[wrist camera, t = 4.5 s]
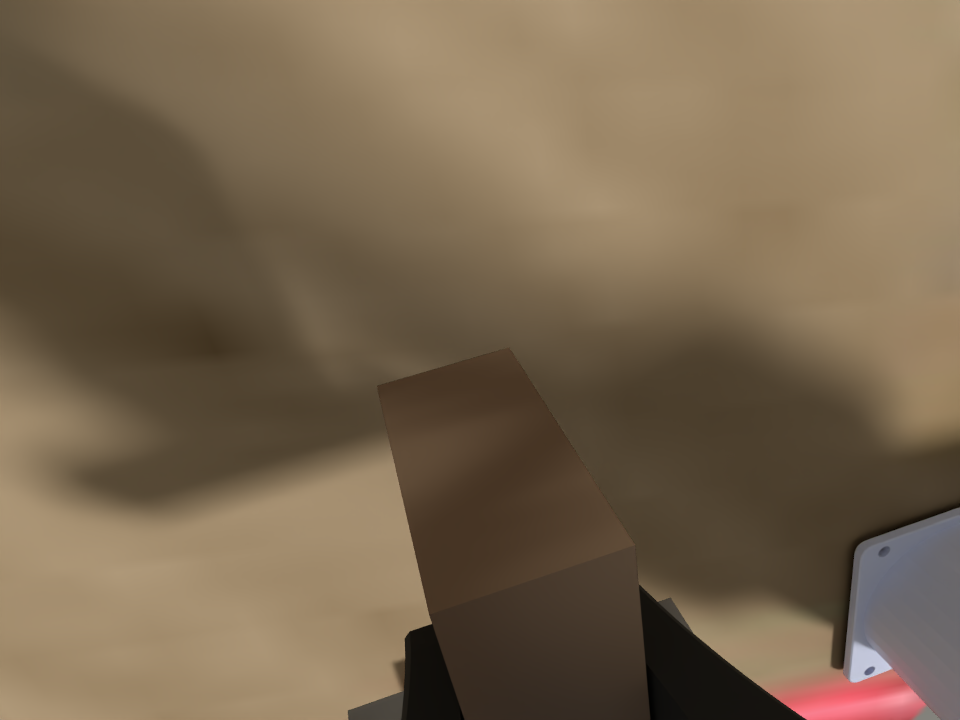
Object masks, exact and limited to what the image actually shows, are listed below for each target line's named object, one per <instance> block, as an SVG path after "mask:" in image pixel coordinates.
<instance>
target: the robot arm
mask: <svg viewBox="0 0 960 720" xmlns="http://www.w3.org/2000/svg"><path fill="white" fill-rule="evenodd" d="M639 594H640V605H641V617H642V628H643V640H644V651H645V663H646V674H647V686H648V697H649V709H650V720H806V719H805V718H803V717H802V716H800V715H799V714H797V713H796V712H794V711H793V710H792V709H790V708H789V707H787V706H786V705H784V704H783V703H782V702H780V701H779V700H777V699H776V698H775V697H773V696H772V695H770V694H769V693H768V692H766V691H765V690H764V689H762V688H761V687H760V686H758V685H757V684H756V683H754V682H753V681H752V680H750V679H749V678H748V677H746V676H745V675H744V674H742V673H741V672H740V671H739V670H737V669H736V668H735V667H733V666H732V665H731V664H730V663H728V662H727V661H726V660H725V659H723V658H722V657H721V656H720V655H718V654H717V653H716V652H715V651H714V650H712V649H711V648H710V647H709V646H708V645H706V644H705V643H704V642H703V641H702V640H700V639H699V638H698V637H697V636H696V635H694V634H693V633H692V632H691V631H690V630H688V629H687V628H686V627H685V626H684V625H683V624H681V623H680V622H679V621H678V620H677V619H676V618H675V617H674V616H672V615H671V614H670V613H669V612H668V611H667V610H666V609H665V608H664V607H663V606H661V605H660V604H659V603H658V602H657V601H656V600H655V599H654V598H653V597H652V596H651V595H650V594H649V593H647V592H646V591H645V590H644V589H643V588H642V587H641V586H640V585H639ZM890 669H893V670H894V671H895V672H896V673H897V674H898V675H899V676H900V677H901V678H902V679H903V680H904V681H905V682H906V683H907V685H908V686H909V687H910V688H911V689H912V690H913V691H914V692H915V693H916V694H917V695H918V696H919V697H920V698H921V699H922V700H923V701H924V703H925V704H926V705H927V706H928V707H929V708H930V709H931V710H932V711H933V712H934V713H935V714H936V715H937V716H938V717H939V718H940V719H941V720H960V507H959V508H956V509H953V510H950V511H947V512H944V513H942V514H939V515H936V516H933V517H930V518H927V519H925V520H922V521H919V522H916V523H913V524H910V525H908V526H905V527H902V528H899V529H896V530H893V531H891V532H888V533H885V534H882V535H879V536H876V537H874V538H871V539H868V540H865V541H863V542H862V543H860V544H859V545H858V546H857V548H856V550H855V554H854V564H853V575H852V585H851V596H850V606H849V617H848V627H847V638H846V648H845V659H844V670H843V673H844V675H845V677H846V678H847V679H848V680H849V681H850V682H859V681H862V680H864V679H867V678H869V677H872V676H875V675H877V674H880V673H883V672H885V671H888V670H890ZM401 720H464V717H463V714H462V711H461V708H460V705H459V702H458V699H457V696H456V693H455V690H454V687H453V684H452V681H451V678H450V675H449V672H448V669H447V666H446V663H445V660H444V657H443V654H442V651H441V648H440V645H439V642H438V639H437V636H436V633H435V630H434V627H433V624H431V625H428V626H425V627H422V628H419V629H416V630H413V631H410V632H409V633H408V635H407V636H406V638H405V682H404V696H403V707H402V717H401Z"/></svg>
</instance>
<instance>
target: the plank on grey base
mask: <svg viewBox="0 0 960 720" xmlns="http://www.w3.org/2000/svg"><path fill="white" fill-rule="evenodd" d="M377 389H378V393H379V397H380V402H381V406H382V411H383V415H384V419H385V424H386V428H387V432H388V437H389V441H390V445H391V450H392V454H393V459H394V463H395V467H396V472H397V476H398V480H399V485H400V489H401V493H402V498H403V502H404V507H405V511H406V515H407V520H408V524H409V528H410V533H411V537H412V541H413V546H414V550H415V555H416V559H417V563H418V568H419V572H420V576H421V581H422V585H423V589H424V594H425V598H426V603H427V607H428V611H429V615H430V618H431V621H432V624H433V627H434V630H435V633H436V636H437V639H438V642H439V645H440V648H441V651H442V654H443V657H444V660H445V663H446V666H447V669H448V672H449V675H450V678H451V681H452V684H453V687H454V690H455V693H456V696H457V699H458V702H459V705H460V708H461V711H462V714H463V717H464V720H650V709H649V697H648V686H647V674H646V663H645V651H644V640H643V628H642V617H641V605H640V594H639V582H638V571H637V559H636V548H635V544H634V542H633V541H632V539H631V538H630V536H629V534H628V533H627V531H626V530H625V528H624V527H623V525H622V524H621V522H620V520H619V519H618V517H617V516H616V514H615V513H614V511H613V509H612V508H611V506H610V505H609V503H608V502H607V500H606V498H605V497H604V495H603V494H602V492H601V491H600V489H599V488H598V486H597V484H596V483H595V481H594V480H593V478H592V477H591V475H590V473H589V472H588V470H587V469H586V467H585V466H584V464H583V462H582V461H581V459H580V458H579V456H578V455H577V453H576V451H575V450H574V448H573V447H572V445H571V444H570V442H569V441H568V439H567V437H566V436H565V434H564V433H563V431H562V430H561V428H560V426H559V425H558V423H557V422H556V420H555V419H554V417H553V415H552V414H551V412H550V411H549V409H548V408H547V406H546V405H545V403H544V401H543V400H542V398H541V397H540V395H539V394H538V392H537V390H536V389H535V387H534V386H533V384H532V383H531V381H530V379H529V378H528V376H527V375H526V373H525V372H524V370H523V368H522V367H521V365H520V364H519V362H518V361H517V359H516V358H515V356H514V354H513V353H512V351H511V350H510V348H506V349H502V350H499V351H496V352H492V353H489V354H485V355H482V356H478V357H475V358H471V359H468V360H465V361H461V362H458V363H454V364H451V365H447V366H444V367H440V368H437V369H433V370H430V371H427V372H423V373H420V374H416V375H413V376H409V377H406V378H402V379H399V380H396V381H392V382H389V383H385V384H382V385H378V386H377ZM658 603H659V604H660V605H661V606H663V607H664V608H665V609H666V610H667V611H668V612H669V613H670V614H671V615H672V616H674V617H675V618H676V619H677V620H678V621H679V622H680V623H681V624H683V625H684V626H685V627H686V628H687V629H688V630H690V631H691V632H692V630H691V629H690V627H689V626H688V624H687V623H686V621H685V620H684V618H683V616H682V615H681V613H680V612H679V610H678V609H677V607H676V605H675V604H674V602H673V601H672V599H671V598H668V599H665V600H662V601H659V602H658ZM692 633H693V632H692ZM403 696H404V691H402V692H400V693H397V694H394V695H391V696H388V697H385V698H383V699H380V700H377V701H374V702H371V703H368V704H365V705H363V706H360V707H357V708H354V709H351V710H348V719H349V720H401V717H402V707H403Z"/></svg>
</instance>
